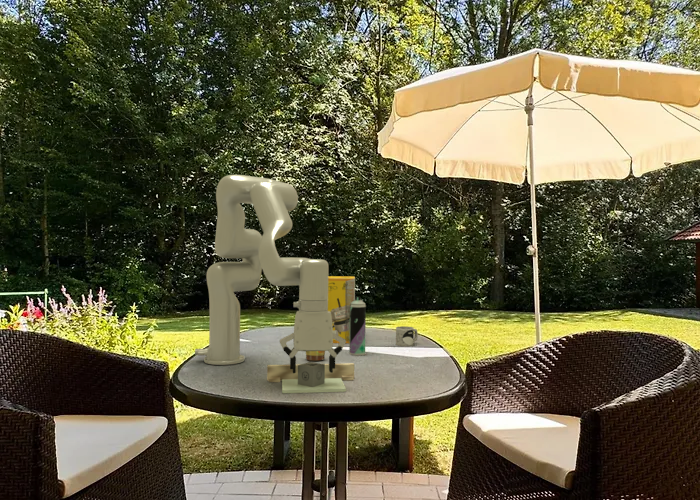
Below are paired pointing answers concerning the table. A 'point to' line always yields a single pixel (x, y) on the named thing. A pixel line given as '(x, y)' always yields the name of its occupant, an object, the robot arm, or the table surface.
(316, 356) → the sauce bottle
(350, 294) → the packaging box
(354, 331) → the spray can
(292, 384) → the pad
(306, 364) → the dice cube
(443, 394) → the table surface
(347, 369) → the wooden barrier
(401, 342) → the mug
